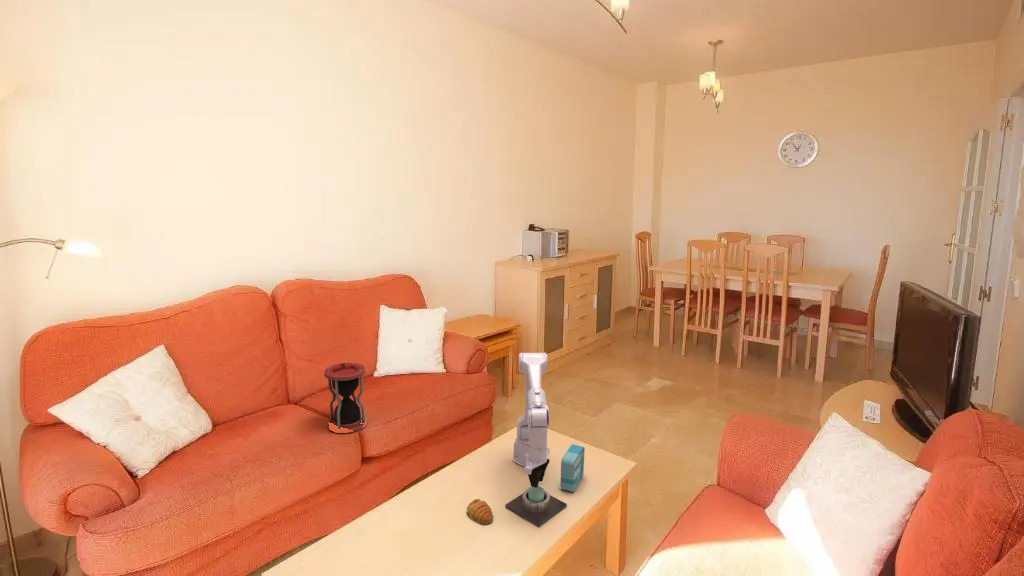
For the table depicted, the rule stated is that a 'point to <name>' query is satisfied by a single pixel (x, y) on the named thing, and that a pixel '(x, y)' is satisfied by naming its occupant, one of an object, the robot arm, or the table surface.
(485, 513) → the pastry
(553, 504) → the square base ring holder
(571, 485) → the data package
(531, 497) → the teal rounded cylinder
